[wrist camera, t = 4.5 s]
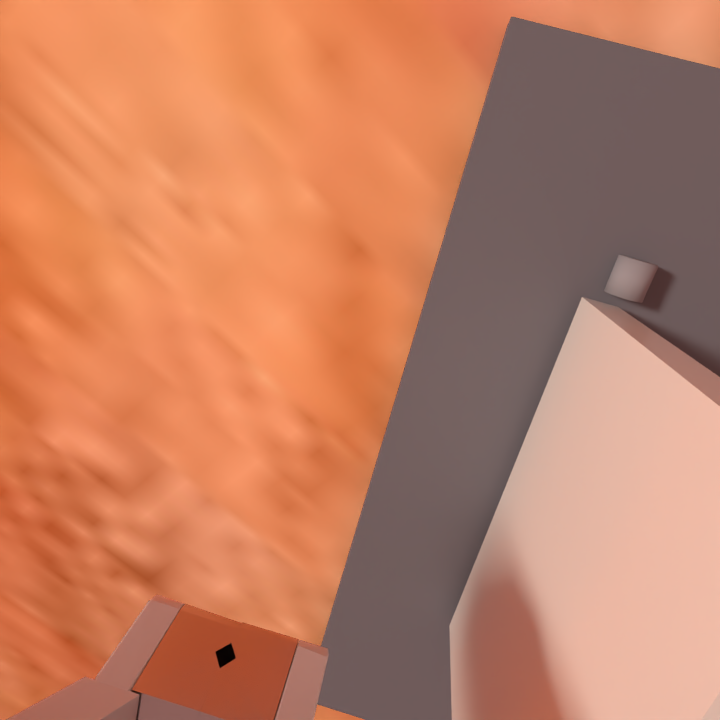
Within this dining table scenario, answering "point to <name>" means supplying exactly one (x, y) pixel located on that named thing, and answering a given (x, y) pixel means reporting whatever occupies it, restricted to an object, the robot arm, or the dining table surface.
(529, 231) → the board
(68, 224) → the dining table surface
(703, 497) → the tile
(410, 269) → the dining table surface
